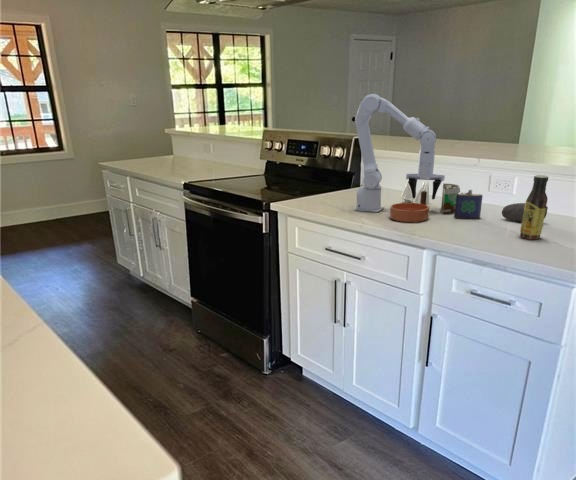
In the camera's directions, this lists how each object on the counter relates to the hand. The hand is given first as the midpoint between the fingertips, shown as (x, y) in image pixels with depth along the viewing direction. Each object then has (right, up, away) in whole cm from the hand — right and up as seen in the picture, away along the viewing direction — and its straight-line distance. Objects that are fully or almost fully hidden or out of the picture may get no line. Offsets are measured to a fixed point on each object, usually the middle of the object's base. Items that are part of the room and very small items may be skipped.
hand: (423, 198), depth 200 cm
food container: (+11, -5, +1) cm, 12 cm away
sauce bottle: (+25, -21, -36) cm, 48 cm away
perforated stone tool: (+31, -12, -17) cm, 38 cm away
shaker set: (+1, +1, +17) cm, 17 cm away
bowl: (-8, -9, -8) cm, 14 cm away
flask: (+14, -10, -10) cm, 19 cm away
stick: (0, -5, +2) cm, 5 cm away
